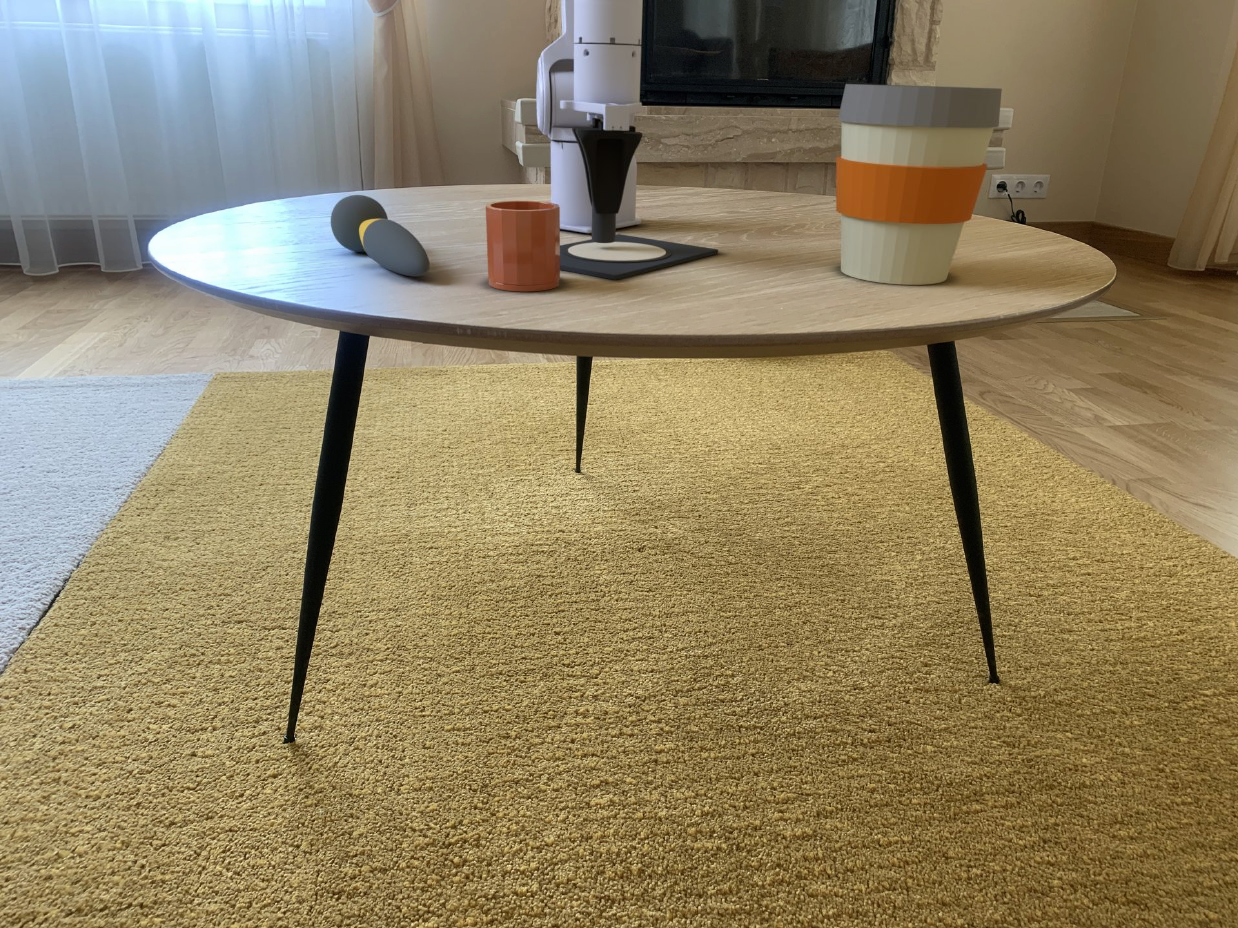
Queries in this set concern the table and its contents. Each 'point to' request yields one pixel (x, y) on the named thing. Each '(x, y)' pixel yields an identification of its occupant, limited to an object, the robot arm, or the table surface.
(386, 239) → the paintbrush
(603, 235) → the marker
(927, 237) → the reusable coffee cup
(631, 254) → the dark grey rectangular pad
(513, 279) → the pen pot
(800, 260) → the table surface
